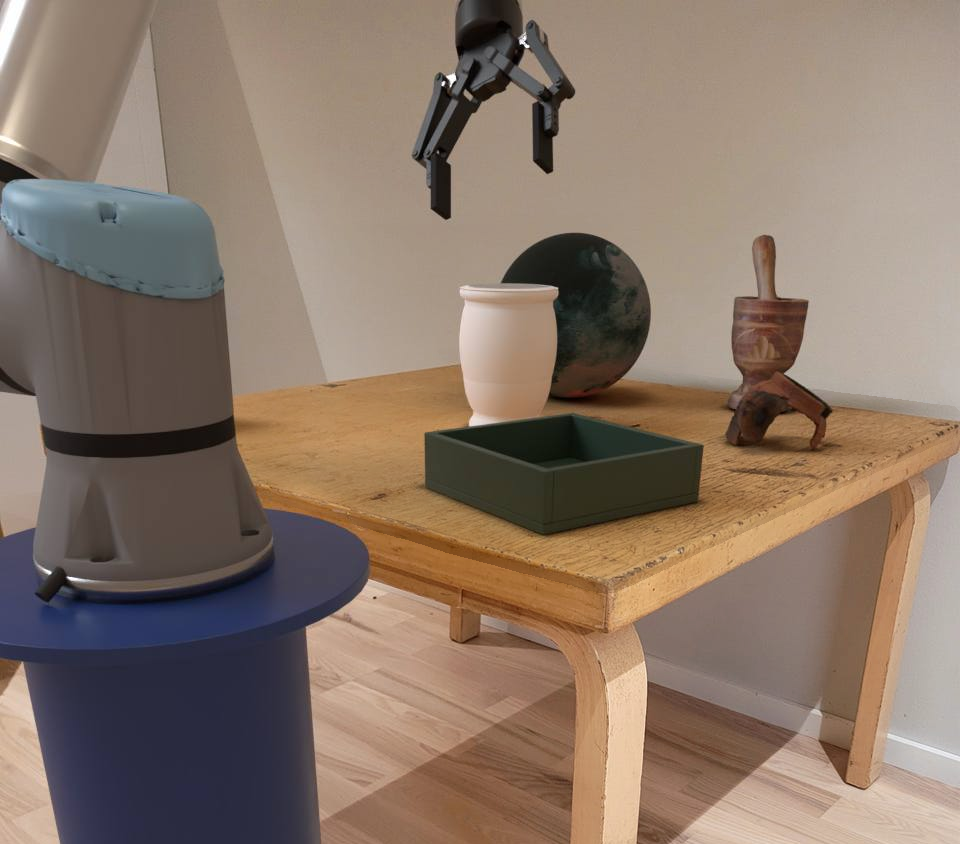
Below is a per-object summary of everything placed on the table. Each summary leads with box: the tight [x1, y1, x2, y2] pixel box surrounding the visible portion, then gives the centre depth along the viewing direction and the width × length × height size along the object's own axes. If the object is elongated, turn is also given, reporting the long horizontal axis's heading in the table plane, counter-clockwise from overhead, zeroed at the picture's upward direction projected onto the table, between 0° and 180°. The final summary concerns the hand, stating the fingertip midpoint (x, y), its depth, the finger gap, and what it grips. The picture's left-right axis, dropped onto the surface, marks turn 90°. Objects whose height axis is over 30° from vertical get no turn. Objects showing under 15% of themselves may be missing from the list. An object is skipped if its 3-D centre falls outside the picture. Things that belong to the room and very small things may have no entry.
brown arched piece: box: [724, 372, 834, 450], centre depth 99 cm, size 12×10×8 cm
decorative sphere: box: [500, 232, 652, 399], centre depth 122 cm, size 20×20×20 cm
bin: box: [423, 412, 705, 536], centre depth 81 cm, size 17×17×5 cm
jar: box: [458, 282, 559, 427], centre depth 104 cm, size 11×10×15 cm
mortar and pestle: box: [727, 234, 810, 413], centre depth 117 cm, size 12×9×20 cm
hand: (490, 191), depth 103 cm, fingers open, 13 cm apart
